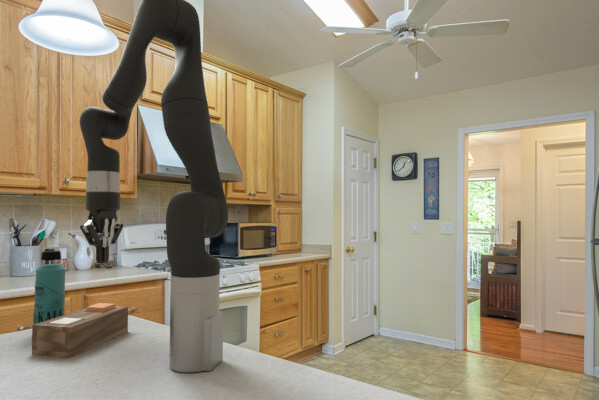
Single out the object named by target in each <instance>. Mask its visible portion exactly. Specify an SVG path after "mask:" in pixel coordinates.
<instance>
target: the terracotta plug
mask: <svg viewBox="0 0 599 400" xmlns="http://www.w3.org/2000/svg"><path fill="white" fill-rule="evenodd" d="M115 306H116V303H105V302H98V303H94V304H91V305H88V306H86V308H87V312H100V313H104V312H107V311H110V310H113V309H115Z"/></svg>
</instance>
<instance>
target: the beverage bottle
mask: <svg viewBox="0 0 599 400" xmlns="http://www.w3.org/2000/svg"><path fill="white" fill-rule="evenodd" d="M40 260H41V261H56V260H57V261H58V260H62V252H61V250H54V249H53V250H45V251H42V252H41V258H40ZM65 289H66V267H65V266H64V265H62V264H59V263H50V264H48V263H47V264H41V265H40V266H38V267H37V268H36V269H35V283H34V294H33V295H34V304H33V308H34V310H33V317H32V318H33V325H34V324H37V323H41V322H44V321H47V320H50V319H53V318H56V317H60V316H63V315H65V314H66V312H65V304H66V302H65V301H66V295H65V294H66V293H65V292H66V291H65Z"/></svg>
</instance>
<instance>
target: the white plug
mask: <svg viewBox="0 0 599 400" xmlns="http://www.w3.org/2000/svg"><path fill="white" fill-rule="evenodd" d="M81 320H83V319H79V318H62V319H59V320H56V321H53V322H50V323H49V324H57V325H70V324H72V323H75V322H78V321H81Z"/></svg>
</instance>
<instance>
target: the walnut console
mask: <svg viewBox="0 0 599 400" xmlns="http://www.w3.org/2000/svg"><path fill="white" fill-rule="evenodd" d="M62 318H79V319H83V320H81V321H78V322H75V323H72V324H70V325H57V324H49V323H50V322H53V321H56V320H59V319H62ZM31 328H32V331H31V332H32V333H31V355H32V356H33V355H34V356H41V357H42V356H45V357H56V358H68V359H71V358H73V357H74V356H77V355H79V354H81V353H83V352H86V351H88V350H91V349H92V348H94V347H97V346H99V345H101V344H104V343H105V342H108V341H110V340H112V339H114V338H116V337H118V336H120V335H124V334H125V333H127V332H128V331H129V307H128V306H118V305H115V309H113V310H110V311H107V312H104V313H100V312H87V307H86V308H83V309H78V310H76V311H73V312H70V313H67V314H66V313H65V314H64V315H63V316H60V317H56V318H53V319H50V320H47V321H44V322H41V323H37V324H34V323H33V324H32V327H31Z"/></svg>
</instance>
